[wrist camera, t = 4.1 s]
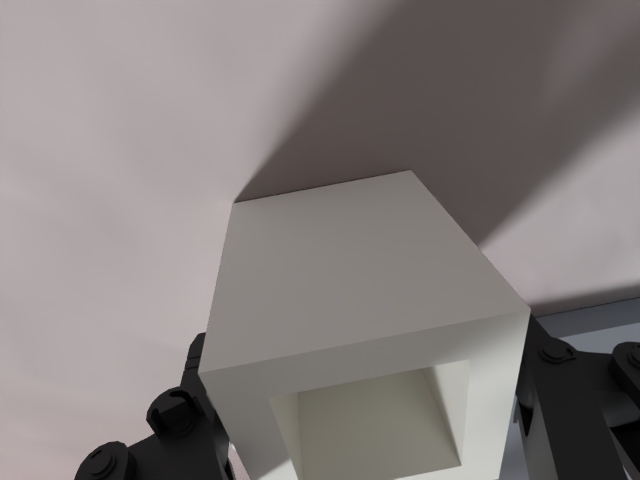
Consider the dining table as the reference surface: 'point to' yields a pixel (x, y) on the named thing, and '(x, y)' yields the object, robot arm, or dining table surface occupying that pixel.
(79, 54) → the dining table surface
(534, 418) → the robot arm
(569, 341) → the base plate
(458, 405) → the sleeve
